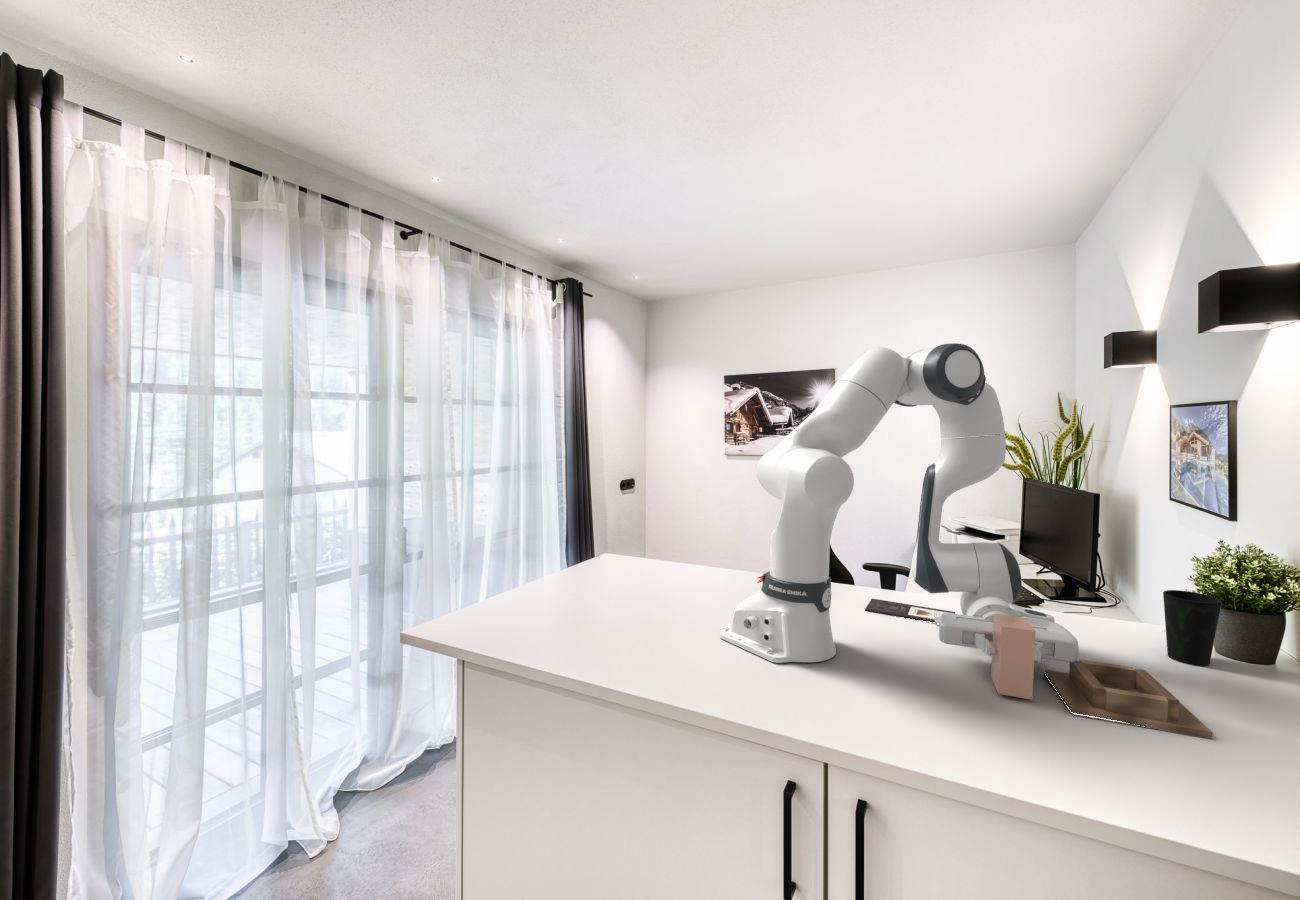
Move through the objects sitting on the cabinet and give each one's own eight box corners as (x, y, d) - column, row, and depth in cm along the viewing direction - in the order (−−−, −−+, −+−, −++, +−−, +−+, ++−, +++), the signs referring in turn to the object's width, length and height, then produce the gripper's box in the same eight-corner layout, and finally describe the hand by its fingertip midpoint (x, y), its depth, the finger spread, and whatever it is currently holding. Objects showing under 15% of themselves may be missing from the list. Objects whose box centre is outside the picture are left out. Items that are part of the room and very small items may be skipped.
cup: (1201, 654, 103) (1204, 592, 102) (1228, 671, 96) (1232, 605, 95) (1151, 648, 106) (1154, 588, 105) (1174, 665, 98) (1177, 600, 98)
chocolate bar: (872, 598, 134) (955, 612, 124) (871, 602, 134) (955, 616, 124) (865, 609, 126) (953, 624, 117) (864, 613, 126) (953, 628, 117)
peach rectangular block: (998, 693, 86) (1001, 626, 86) (991, 677, 92) (993, 614, 91) (1032, 699, 85) (1035, 630, 84) (1022, 682, 90) (1025, 618, 90)
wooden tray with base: (1071, 714, 81) (1073, 689, 81) (1044, 675, 94) (1045, 652, 94) (1212, 739, 75) (1213, 711, 75) (1162, 692, 88) (1163, 668, 88)
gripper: (933, 600, 104) (941, 624, 91) (1062, 616, 96) (1091, 645, 83) (932, 632, 104) (940, 661, 91) (1061, 650, 96) (1089, 685, 83)
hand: (1013, 654), depth 87 cm, fingers closed on peach rectangular block, 4 cm apart
